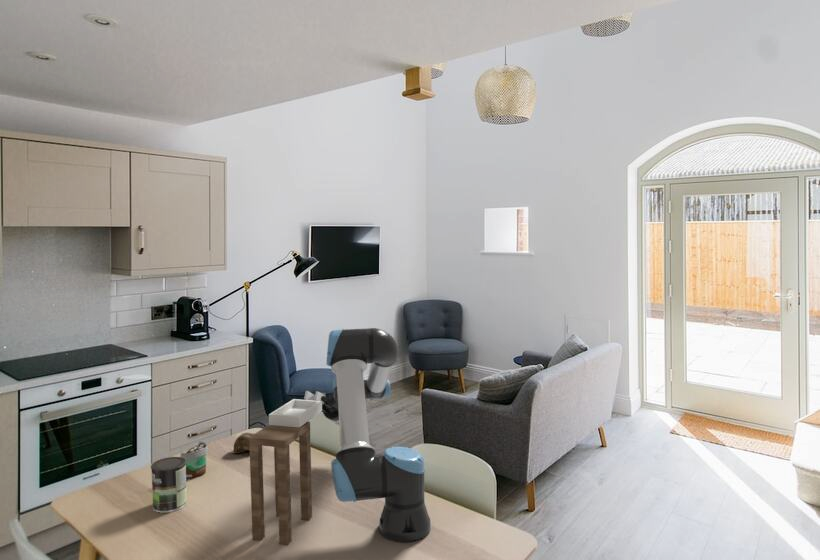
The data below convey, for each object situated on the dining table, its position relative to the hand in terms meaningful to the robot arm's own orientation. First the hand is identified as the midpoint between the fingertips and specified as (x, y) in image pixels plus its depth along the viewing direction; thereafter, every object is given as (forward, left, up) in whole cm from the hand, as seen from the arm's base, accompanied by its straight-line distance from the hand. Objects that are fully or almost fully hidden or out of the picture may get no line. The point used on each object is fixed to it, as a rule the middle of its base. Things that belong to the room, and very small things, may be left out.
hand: (311, 395), depth 176 cm
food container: (+47, +12, -34) cm, 59 cm away
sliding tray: (-2, +5, -4) cm, 7 cm away
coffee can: (+34, +31, -35) cm, 57 cm away
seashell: (+49, -12, -35) cm, 61 cm away
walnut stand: (-7, +20, -34) cm, 40 cm away
